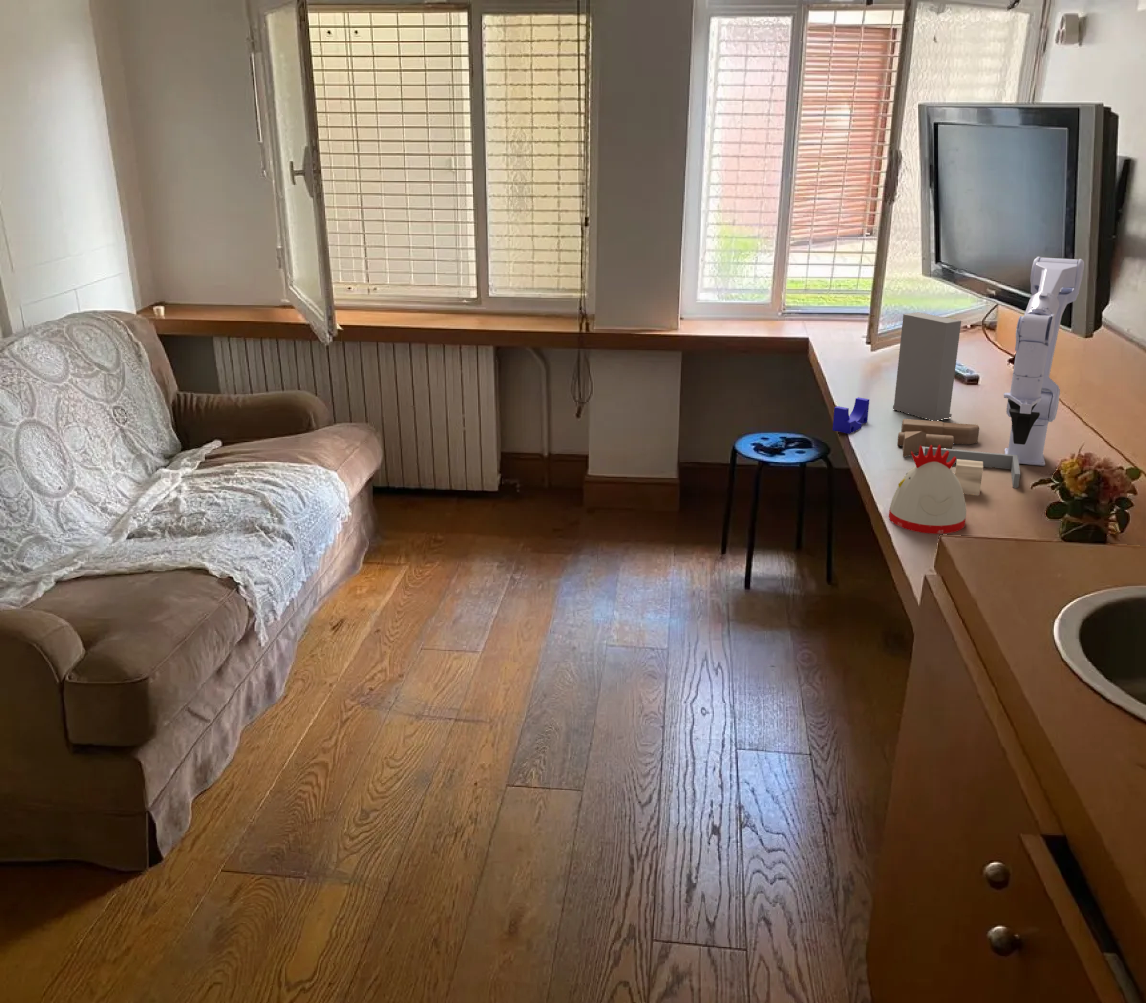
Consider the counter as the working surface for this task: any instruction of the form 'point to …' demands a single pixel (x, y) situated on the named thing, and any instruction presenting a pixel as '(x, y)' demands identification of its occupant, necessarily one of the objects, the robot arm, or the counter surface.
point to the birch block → (969, 475)
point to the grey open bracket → (985, 460)
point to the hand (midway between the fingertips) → (1018, 438)
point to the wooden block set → (934, 435)
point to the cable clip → (851, 416)
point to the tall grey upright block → (926, 365)
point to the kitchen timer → (929, 496)
